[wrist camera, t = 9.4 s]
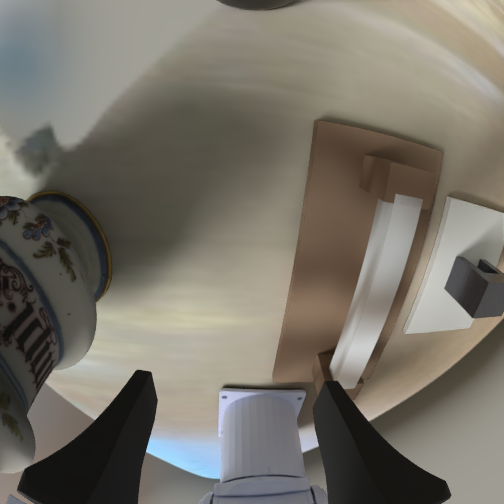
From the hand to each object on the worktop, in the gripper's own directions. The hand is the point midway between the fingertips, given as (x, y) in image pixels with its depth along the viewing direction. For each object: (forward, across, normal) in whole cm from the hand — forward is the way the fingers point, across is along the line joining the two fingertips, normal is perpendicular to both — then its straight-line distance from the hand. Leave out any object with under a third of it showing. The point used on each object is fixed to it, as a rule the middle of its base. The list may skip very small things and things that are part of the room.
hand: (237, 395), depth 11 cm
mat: (+9, -19, -2) cm, 21 cm away
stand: (+9, -8, -1) cm, 12 cm away
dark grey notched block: (+9, -19, -2) cm, 21 cm away
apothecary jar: (+10, +14, -1) cm, 17 cm away
